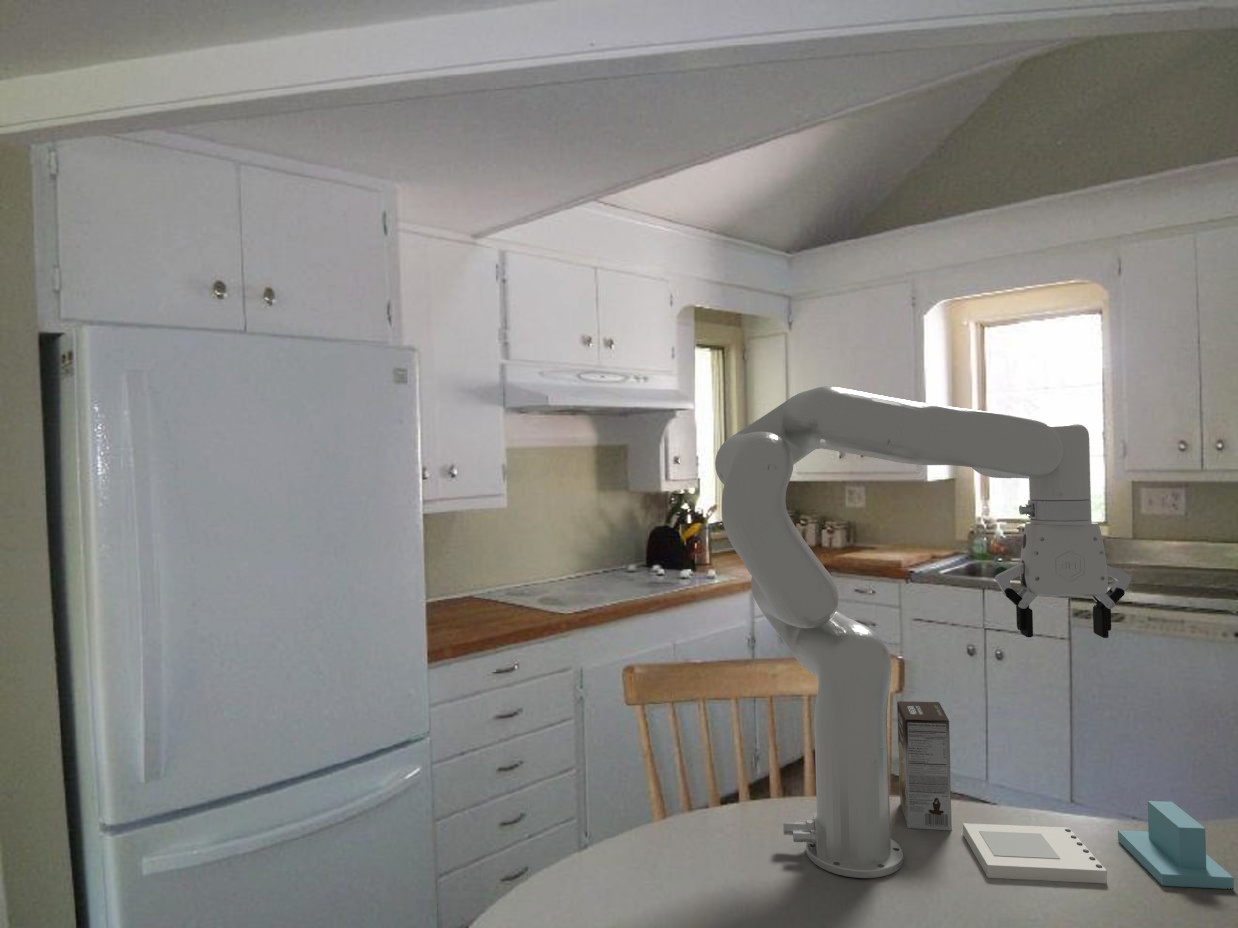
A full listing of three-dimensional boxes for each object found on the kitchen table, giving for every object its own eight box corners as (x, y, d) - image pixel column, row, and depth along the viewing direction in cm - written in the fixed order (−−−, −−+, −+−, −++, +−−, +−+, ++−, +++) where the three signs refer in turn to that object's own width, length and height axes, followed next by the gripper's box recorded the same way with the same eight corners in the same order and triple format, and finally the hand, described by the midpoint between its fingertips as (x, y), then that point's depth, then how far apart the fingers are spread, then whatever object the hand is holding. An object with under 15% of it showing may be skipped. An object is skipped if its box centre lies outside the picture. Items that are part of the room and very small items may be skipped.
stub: (1162, 885, 100) (1160, 833, 100) (1118, 840, 111) (1116, 793, 112) (1234, 888, 98) (1232, 836, 98) (1181, 842, 110) (1180, 796, 110)
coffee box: (898, 802, 126) (895, 699, 126) (942, 805, 125) (939, 700, 125) (907, 829, 117) (904, 718, 117) (954, 831, 116) (951, 719, 116)
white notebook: (988, 877, 103) (987, 863, 103) (963, 834, 115) (962, 822, 115) (1107, 883, 101) (1106, 869, 101) (1069, 838, 112) (1068, 826, 112)
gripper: (1002, 515, 110) (1006, 641, 110) (1140, 513, 107) (1144, 642, 107) (986, 512, 118) (989, 629, 118) (1115, 510, 115) (1118, 630, 115)
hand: (1063, 635), depth 113 cm, fingers open, 9 cm apart
